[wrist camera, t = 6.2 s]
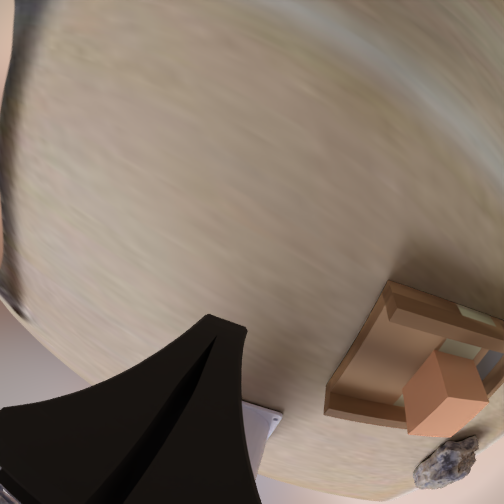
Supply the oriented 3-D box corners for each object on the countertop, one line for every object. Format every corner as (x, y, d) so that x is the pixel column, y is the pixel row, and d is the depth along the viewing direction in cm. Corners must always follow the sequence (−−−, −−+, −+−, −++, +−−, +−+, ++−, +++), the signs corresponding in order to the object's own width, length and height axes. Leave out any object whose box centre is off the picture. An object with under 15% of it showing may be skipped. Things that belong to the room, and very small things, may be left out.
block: (441, 396, 18) (450, 437, 14) (402, 388, 19) (407, 434, 15) (473, 359, 16) (489, 402, 12) (433, 349, 17) (447, 396, 13)
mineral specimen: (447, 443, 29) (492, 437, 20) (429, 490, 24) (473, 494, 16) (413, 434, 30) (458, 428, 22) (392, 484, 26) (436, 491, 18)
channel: (458, 409, 21) (464, 433, 18) (326, 385, 22) (323, 414, 19) (525, 328, 16) (540, 351, 13) (388, 279, 17) (397, 307, 14)
